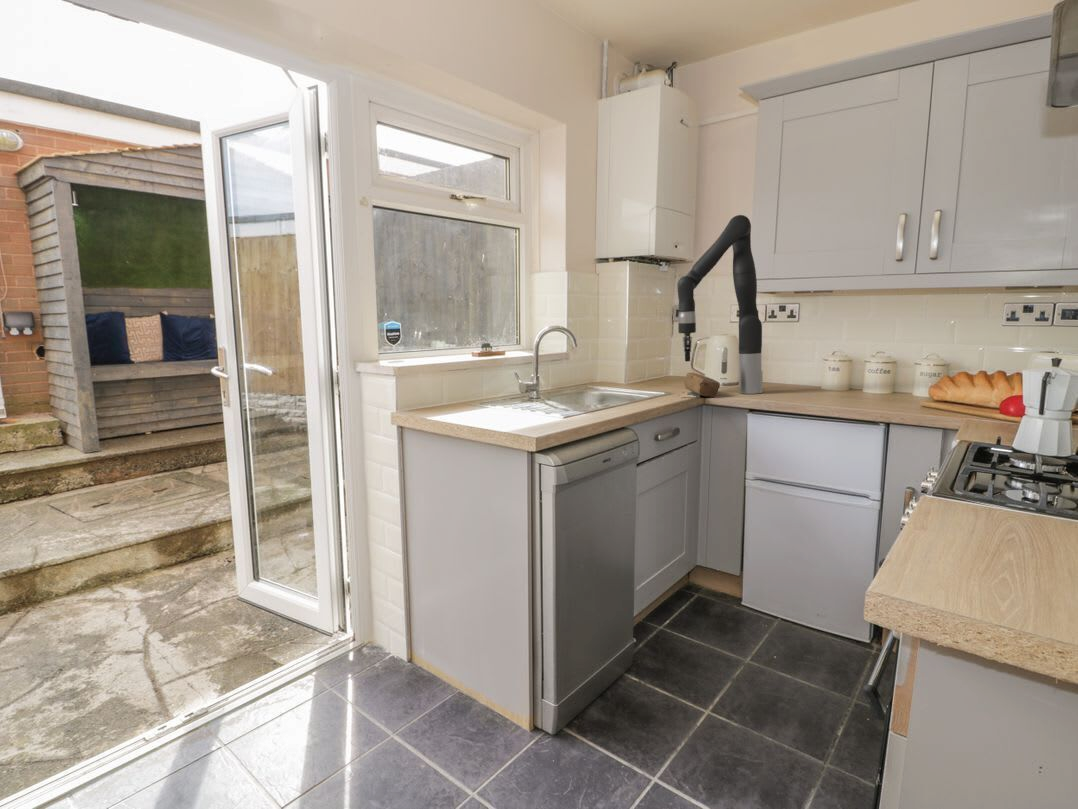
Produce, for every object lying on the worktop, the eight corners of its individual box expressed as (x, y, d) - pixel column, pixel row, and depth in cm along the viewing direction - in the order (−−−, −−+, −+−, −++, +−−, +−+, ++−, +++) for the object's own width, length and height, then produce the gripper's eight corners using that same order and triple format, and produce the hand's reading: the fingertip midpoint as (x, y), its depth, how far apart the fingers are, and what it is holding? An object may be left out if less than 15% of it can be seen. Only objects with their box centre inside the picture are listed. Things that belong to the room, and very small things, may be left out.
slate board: (697, 394, 258) (697, 391, 258) (699, 397, 247) (699, 394, 246) (679, 394, 260) (679, 392, 260) (680, 397, 248) (680, 395, 248)
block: (680, 386, 263) (696, 395, 243) (685, 370, 261) (701, 377, 242) (703, 391, 264) (720, 400, 245) (708, 375, 263) (725, 383, 243)
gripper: (696, 321, 252) (697, 361, 254) (694, 322, 265) (695, 360, 267) (678, 322, 254) (679, 362, 256) (677, 322, 266) (678, 360, 269)
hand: (687, 361), depth 261 cm, fingers closed
